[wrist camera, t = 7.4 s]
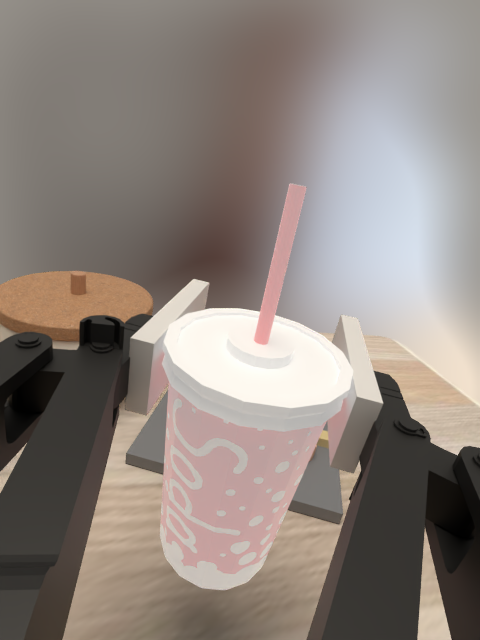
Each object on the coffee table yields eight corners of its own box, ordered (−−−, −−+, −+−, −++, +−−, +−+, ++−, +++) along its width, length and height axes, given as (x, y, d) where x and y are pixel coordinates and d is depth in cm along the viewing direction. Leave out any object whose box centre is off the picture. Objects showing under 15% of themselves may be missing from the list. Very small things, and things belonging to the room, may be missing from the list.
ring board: (125, 463, 28) (127, 440, 27) (184, 371, 40) (186, 353, 40) (338, 524, 26) (347, 501, 25) (330, 408, 39) (335, 390, 38)
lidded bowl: (172, 382, 38) (184, 281, 34) (64, 452, 28) (62, 318, 23) (86, 338, 43) (87, 245, 39) (-33, 383, 33) (-49, 262, 28)
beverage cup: (118, 502, 16) (146, 152, 10) (234, 458, 20) (301, 180, 14) (183, 655, 12) (291, 196, 6) (316, 561, 15) (462, 219, 10)
